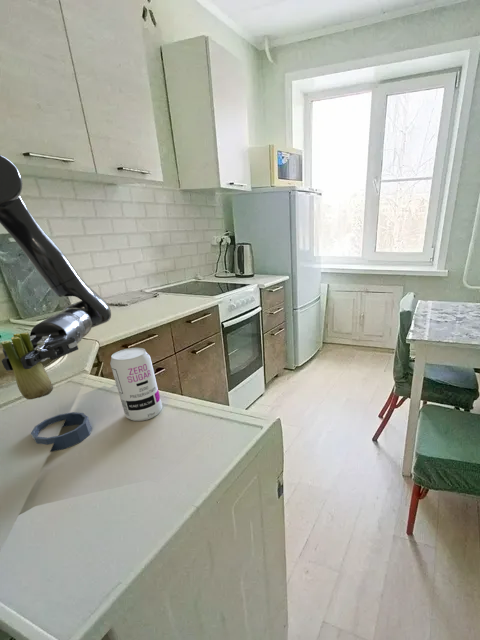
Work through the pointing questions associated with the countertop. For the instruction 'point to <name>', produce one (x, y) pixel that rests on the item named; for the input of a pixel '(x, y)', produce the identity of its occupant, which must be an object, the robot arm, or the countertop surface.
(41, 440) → the ring
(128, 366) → the supplement can
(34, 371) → the fennel bulb
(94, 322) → the robot arm
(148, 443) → the countertop surface
